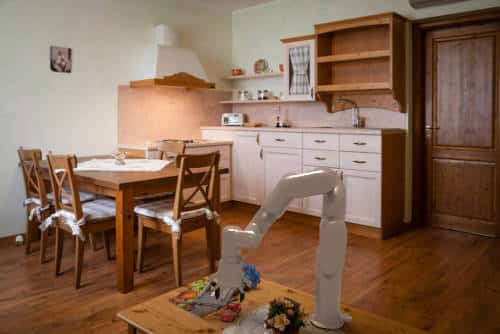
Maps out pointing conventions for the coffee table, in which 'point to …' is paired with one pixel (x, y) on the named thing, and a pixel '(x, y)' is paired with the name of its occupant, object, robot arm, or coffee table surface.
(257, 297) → the coffee table surface
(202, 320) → the coffee table surface
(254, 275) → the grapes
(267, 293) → the coffee table surface
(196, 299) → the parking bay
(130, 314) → the coffee table surface
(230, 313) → the race car
